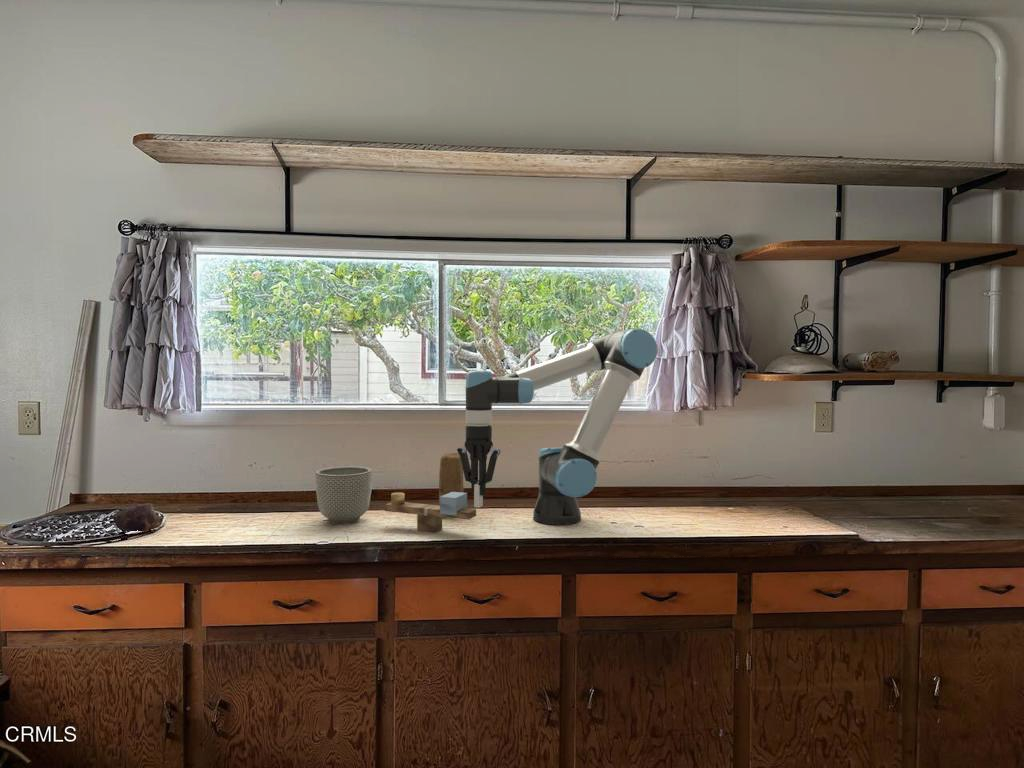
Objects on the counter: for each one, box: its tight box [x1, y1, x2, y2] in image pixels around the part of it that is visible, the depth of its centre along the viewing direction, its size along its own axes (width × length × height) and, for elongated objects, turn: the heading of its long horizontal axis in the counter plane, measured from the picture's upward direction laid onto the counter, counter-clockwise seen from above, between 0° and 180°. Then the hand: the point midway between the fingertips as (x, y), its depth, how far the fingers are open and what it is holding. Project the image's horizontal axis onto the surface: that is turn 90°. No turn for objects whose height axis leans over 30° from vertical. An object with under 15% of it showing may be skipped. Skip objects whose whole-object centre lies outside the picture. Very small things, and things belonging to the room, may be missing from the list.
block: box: [438, 452, 465, 506], centre depth 207 cm, size 11×8×20 cm
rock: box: [112, 502, 164, 533], centre depth 183 cm, size 12×9×10 cm
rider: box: [440, 492, 468, 515], centre depth 184 cm, size 5×8×5 cm, turn 158°
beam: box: [384, 491, 477, 534], centre depth 187 cm, size 28×5×10 cm, turn 68°
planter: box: [314, 465, 373, 526], centre depth 197 cm, size 17×17×16 cm
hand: (478, 506), depth 181 cm, fingers closed
